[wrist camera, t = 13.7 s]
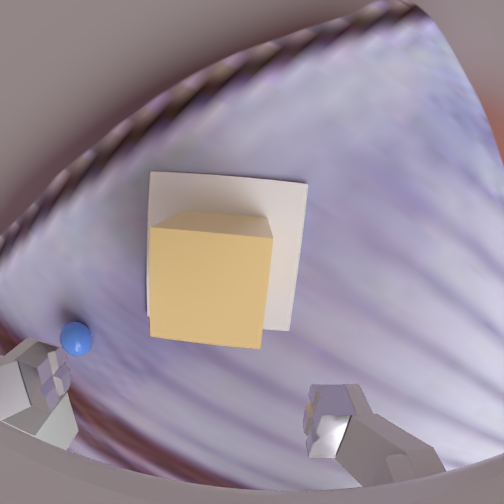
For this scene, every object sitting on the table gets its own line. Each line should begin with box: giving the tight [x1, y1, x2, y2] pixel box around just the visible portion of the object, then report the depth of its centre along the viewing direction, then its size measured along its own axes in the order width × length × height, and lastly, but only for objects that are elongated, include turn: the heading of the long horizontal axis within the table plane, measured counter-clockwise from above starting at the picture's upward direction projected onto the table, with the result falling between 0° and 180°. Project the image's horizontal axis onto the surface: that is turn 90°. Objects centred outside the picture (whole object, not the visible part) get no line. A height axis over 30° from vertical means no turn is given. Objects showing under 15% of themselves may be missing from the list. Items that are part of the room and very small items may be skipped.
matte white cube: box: [1, 392, 79, 450], centre depth 26 cm, size 6×6×8 cm
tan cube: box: [149, 210, 273, 349], centre depth 21 cm, size 6×6×8 cm
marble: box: [60, 322, 92, 356], centre depth 26 cm, size 3×3×3 cm
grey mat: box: [147, 171, 308, 331], centre depth 25 cm, size 12×12×1 cm
